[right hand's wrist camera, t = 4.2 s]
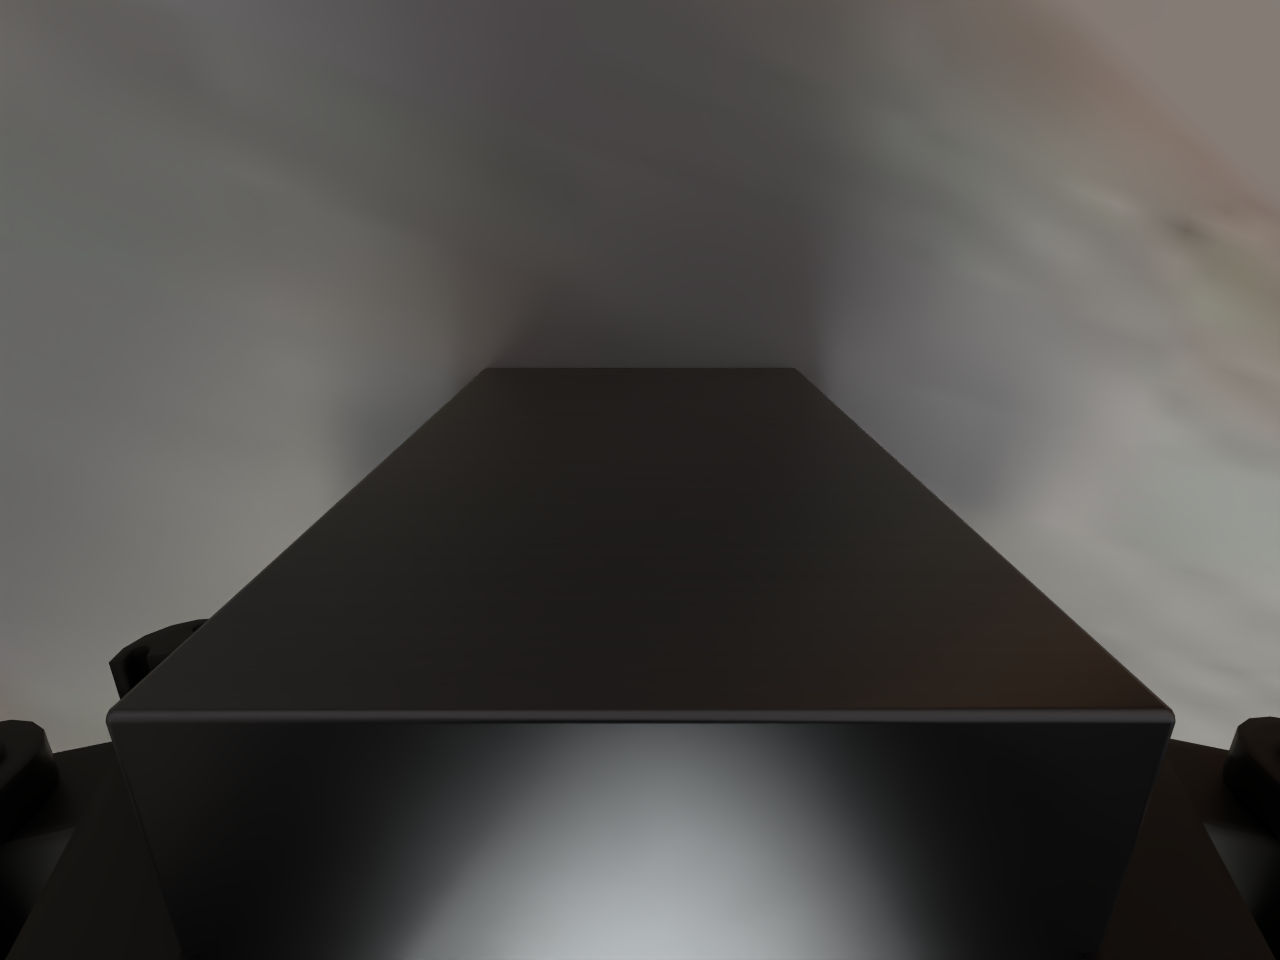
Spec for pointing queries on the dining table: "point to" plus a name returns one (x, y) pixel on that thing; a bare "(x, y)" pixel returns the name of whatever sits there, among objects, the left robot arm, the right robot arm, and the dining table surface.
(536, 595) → the box
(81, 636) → the dining table surface
